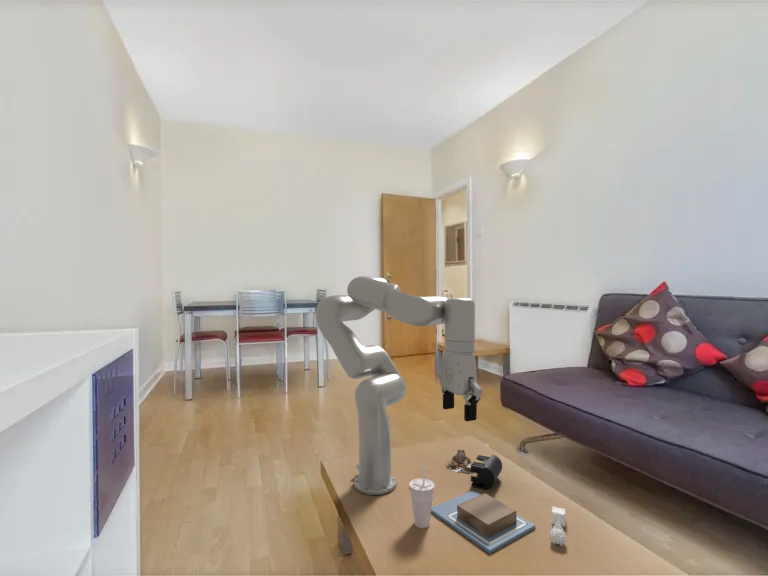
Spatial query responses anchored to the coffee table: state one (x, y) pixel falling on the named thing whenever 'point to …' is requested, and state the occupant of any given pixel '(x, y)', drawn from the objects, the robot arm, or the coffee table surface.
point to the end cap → (485, 471)
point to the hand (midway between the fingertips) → (458, 414)
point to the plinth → (486, 514)
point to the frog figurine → (460, 462)
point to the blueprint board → (491, 544)
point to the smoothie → (422, 500)
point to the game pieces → (558, 526)
